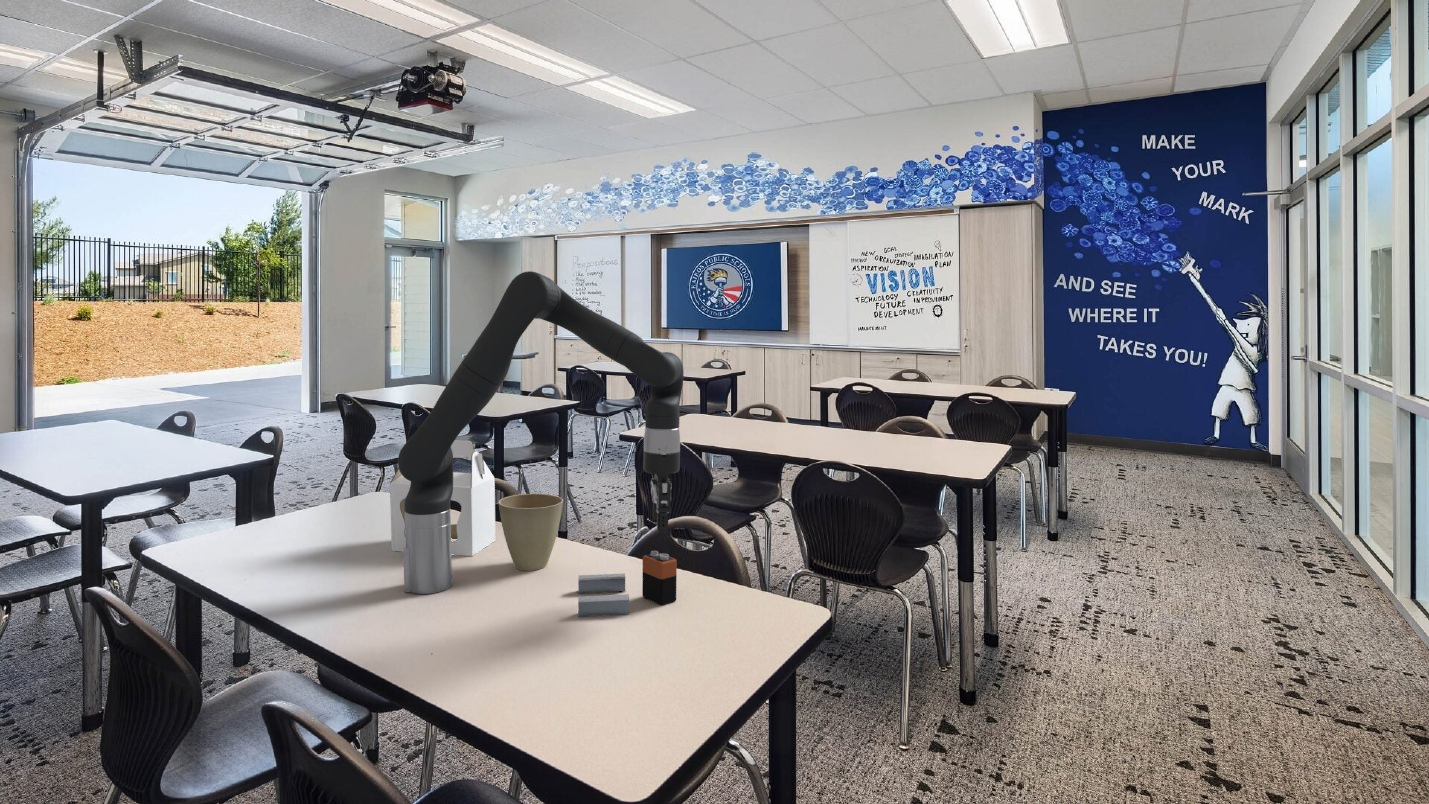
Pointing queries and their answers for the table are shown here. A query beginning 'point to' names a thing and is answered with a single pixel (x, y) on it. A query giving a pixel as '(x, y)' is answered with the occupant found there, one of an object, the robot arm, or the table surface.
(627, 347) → the robot arm
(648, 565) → the battery
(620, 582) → the housing
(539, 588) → the table surface
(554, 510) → the plant pot
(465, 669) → the table surface
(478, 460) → the gable box
